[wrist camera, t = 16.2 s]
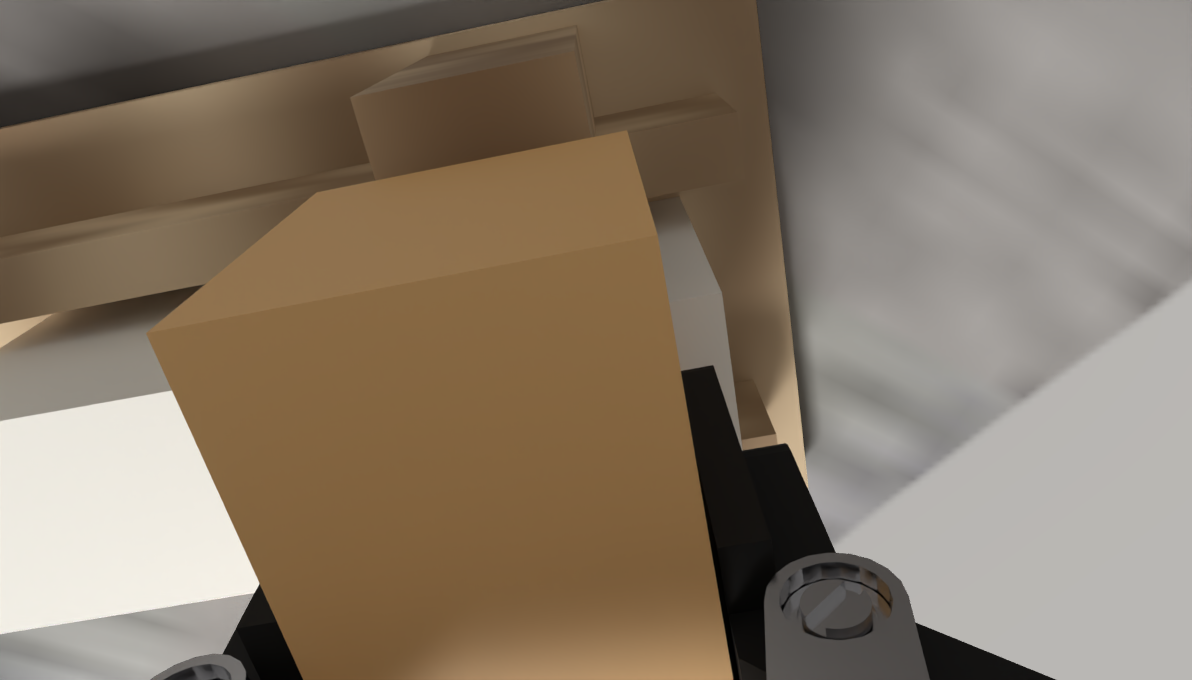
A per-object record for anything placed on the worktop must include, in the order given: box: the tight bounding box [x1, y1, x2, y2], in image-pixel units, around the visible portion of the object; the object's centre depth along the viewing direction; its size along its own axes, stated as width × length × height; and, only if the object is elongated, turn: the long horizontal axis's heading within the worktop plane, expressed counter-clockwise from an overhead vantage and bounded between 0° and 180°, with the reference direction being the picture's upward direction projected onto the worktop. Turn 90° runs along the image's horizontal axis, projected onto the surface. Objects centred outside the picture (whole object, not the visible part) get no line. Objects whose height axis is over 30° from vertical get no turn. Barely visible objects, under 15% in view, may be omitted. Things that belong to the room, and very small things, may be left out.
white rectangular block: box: [0, 196, 743, 634], centre depth 16 cm, size 14×4×6 cm, turn 100°
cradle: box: [0, 0, 808, 488], centre depth 16 cm, size 18×12×7 cm, turn 101°
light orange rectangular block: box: [146, 130, 733, 680], centre depth 10 cm, size 4×10×4 cm, turn 11°
